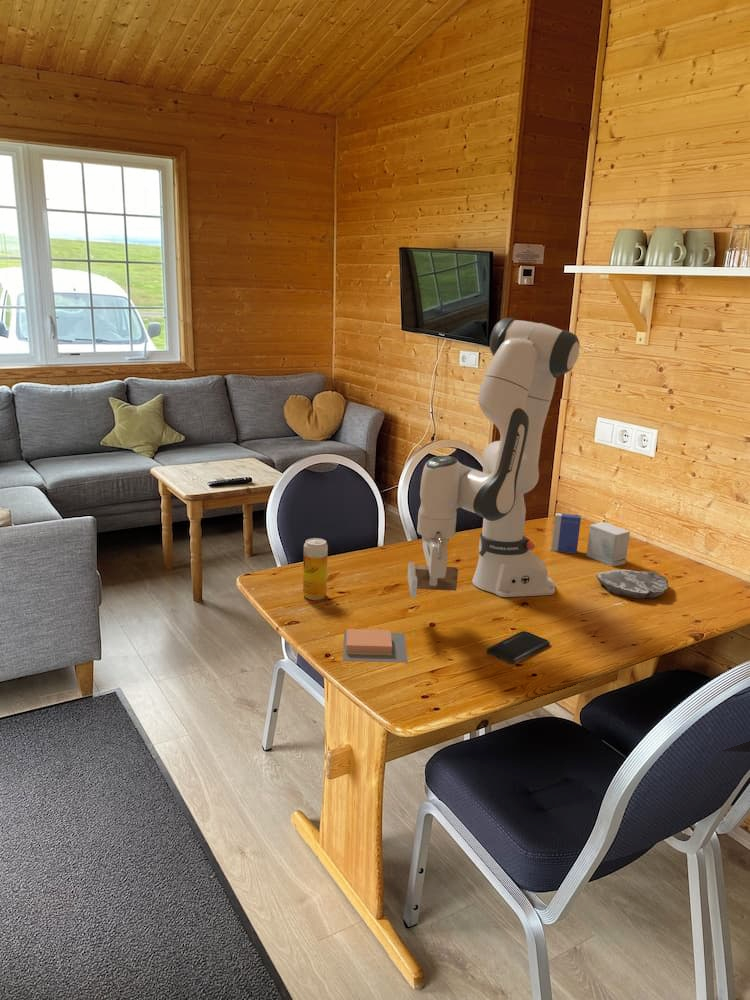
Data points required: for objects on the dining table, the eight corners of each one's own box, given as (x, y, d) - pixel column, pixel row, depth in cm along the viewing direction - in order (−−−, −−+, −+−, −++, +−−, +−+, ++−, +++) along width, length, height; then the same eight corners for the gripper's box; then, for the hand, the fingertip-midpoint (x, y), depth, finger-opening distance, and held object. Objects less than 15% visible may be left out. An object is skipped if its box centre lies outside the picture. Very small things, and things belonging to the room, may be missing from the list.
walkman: (576, 550, 240) (581, 514, 237) (576, 553, 238) (581, 517, 234) (551, 547, 242) (555, 511, 239) (550, 550, 240) (554, 514, 236)
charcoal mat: (403, 635, 179) (403, 633, 179) (407, 664, 165) (407, 662, 165) (344, 633, 178) (344, 631, 178) (342, 662, 165) (342, 660, 165)
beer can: (299, 593, 200) (300, 538, 195) (321, 590, 202) (323, 536, 198) (307, 602, 194) (308, 546, 190) (329, 599, 197) (331, 544, 193)
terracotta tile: (390, 630, 175) (347, 628, 175) (392, 646, 167) (346, 645, 167) (390, 638, 176) (346, 637, 175) (391, 655, 168) (346, 653, 168)
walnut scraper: (452, 578, 188) (454, 560, 186) (458, 598, 176) (460, 578, 175) (407, 576, 187) (408, 557, 186) (410, 596, 176) (412, 576, 174)
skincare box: (585, 556, 236) (589, 524, 233) (599, 553, 240) (603, 521, 237) (611, 567, 228) (616, 534, 225) (626, 563, 231) (631, 531, 228)
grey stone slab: (618, 605, 202) (619, 594, 201) (587, 580, 218) (589, 570, 217) (684, 601, 206) (686, 591, 205) (649, 577, 222) (651, 568, 221)
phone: (551, 641, 177) (513, 661, 167) (551, 646, 177) (512, 666, 167) (523, 630, 182) (484, 648, 172) (523, 634, 183) (484, 653, 173)
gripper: (455, 541, 168) (450, 599, 172) (445, 513, 187) (440, 566, 191) (427, 540, 167) (422, 598, 171) (419, 512, 187) (415, 565, 191)
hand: (431, 581), depth 181 cm, fingers closed on walnut scraper, 2 cm apart
